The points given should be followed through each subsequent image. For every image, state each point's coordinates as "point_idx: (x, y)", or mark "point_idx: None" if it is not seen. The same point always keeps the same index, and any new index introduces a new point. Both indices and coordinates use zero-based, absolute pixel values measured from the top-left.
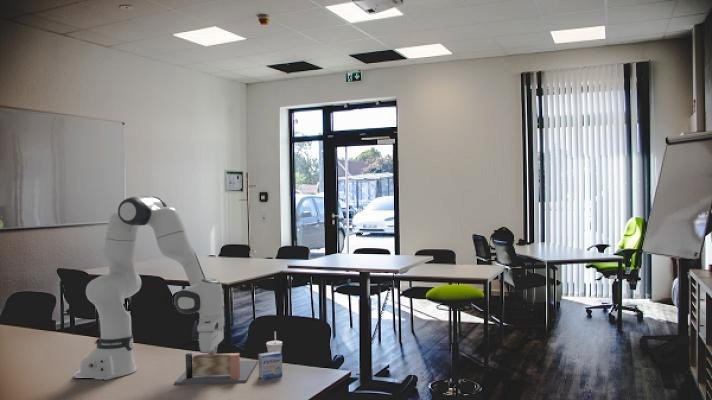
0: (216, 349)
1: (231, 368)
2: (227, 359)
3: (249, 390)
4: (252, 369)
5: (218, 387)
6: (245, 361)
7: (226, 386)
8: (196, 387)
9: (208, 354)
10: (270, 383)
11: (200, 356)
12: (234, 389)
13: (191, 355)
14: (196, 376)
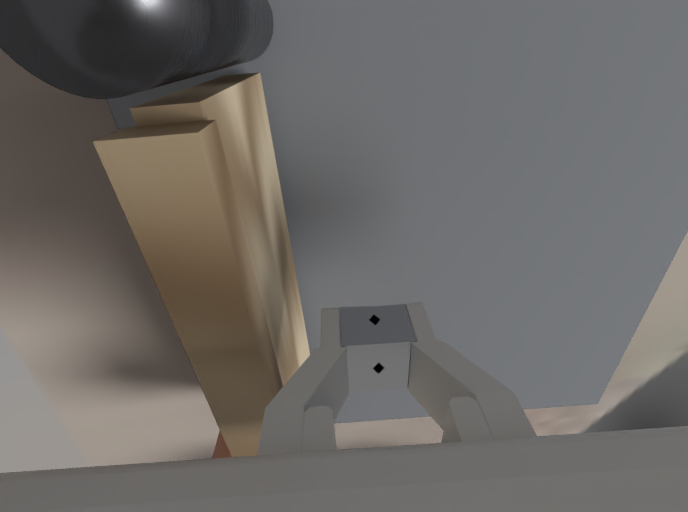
0: (442, 427)
1: (222, 437)
2: None
3: (124, 452)
4: (421, 416)
5: (116, 324)
6: (609, 353)
7: (148, 358)
8: (58, 180)
9: (245, 374)
10: None
11: (162, 276)
12: (114, 401)
13: (92, 88)
14: (277, 95)
